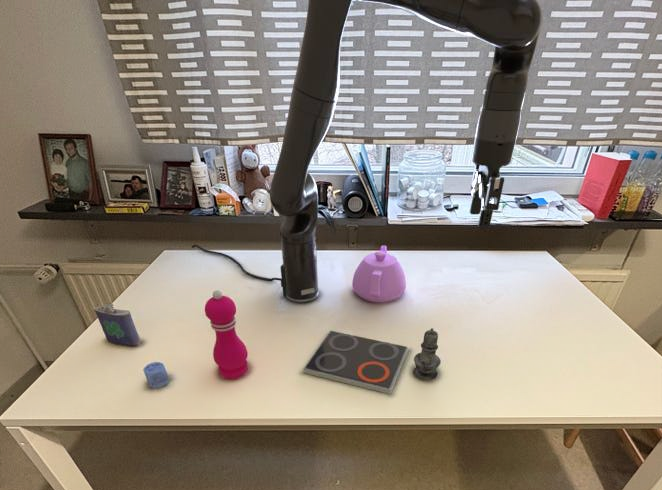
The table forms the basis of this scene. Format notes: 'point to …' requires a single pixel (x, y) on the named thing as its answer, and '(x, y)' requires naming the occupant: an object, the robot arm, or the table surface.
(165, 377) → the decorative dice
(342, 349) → the hob
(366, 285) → the teapot
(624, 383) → the table surface
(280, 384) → the table surface
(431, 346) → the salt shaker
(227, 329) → the pepper mill
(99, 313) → the flask
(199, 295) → the table surface
